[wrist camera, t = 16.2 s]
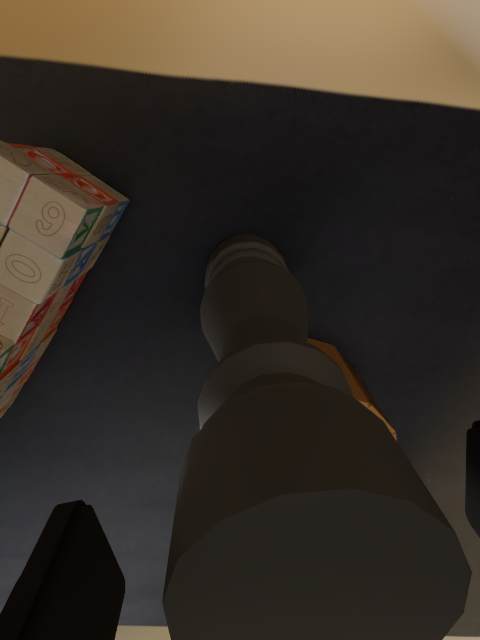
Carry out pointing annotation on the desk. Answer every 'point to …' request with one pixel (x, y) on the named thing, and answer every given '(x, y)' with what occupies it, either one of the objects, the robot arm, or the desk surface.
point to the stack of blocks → (44, 250)
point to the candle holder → (297, 487)
